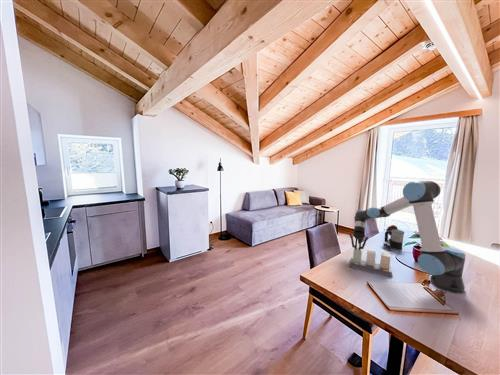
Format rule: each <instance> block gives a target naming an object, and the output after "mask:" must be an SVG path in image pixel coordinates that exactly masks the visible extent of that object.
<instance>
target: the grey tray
mask: <svg viewBox="0 0 500 375" xmlns="http://www.w3.org/2000/svg"><path fill="white" fill-rule="evenodd" d="M349 268H352V269H356V270H361V271H364V272H369V273H373V274H379V275H383V276H386V277H390V278H391V277H392V278H393V275H394V274H393V270H392V267H391V265H390V266H389V270H388V269H383V268H380V263H377V262H375V266H370V265H366V260H364V259H361V265H360V264H356V263H353V257H351V258H350V262H349Z"/></svg>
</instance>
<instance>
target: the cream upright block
mask: <svg viewBox="0 0 500 375" xmlns="http://www.w3.org/2000/svg"><path fill="white" fill-rule="evenodd" d="M376 256H377V254H376V251H373V250H370V249H369V250H366V260H365V261H366V265H370V266H375V263H376Z"/></svg>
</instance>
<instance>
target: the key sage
mask: <svg viewBox="0 0 500 375" xmlns="http://www.w3.org/2000/svg"><path fill="white" fill-rule="evenodd" d="M352 253H353V254H352V258H353V263H356V264H360V265H361V260H362V253H363V251H362V249H361V250H356V249H355V248H354V249H353V252H352Z"/></svg>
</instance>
